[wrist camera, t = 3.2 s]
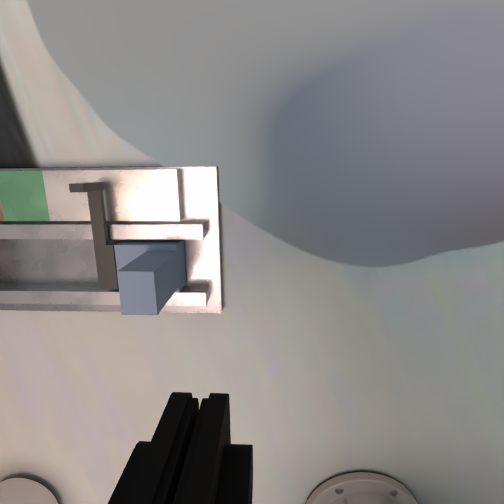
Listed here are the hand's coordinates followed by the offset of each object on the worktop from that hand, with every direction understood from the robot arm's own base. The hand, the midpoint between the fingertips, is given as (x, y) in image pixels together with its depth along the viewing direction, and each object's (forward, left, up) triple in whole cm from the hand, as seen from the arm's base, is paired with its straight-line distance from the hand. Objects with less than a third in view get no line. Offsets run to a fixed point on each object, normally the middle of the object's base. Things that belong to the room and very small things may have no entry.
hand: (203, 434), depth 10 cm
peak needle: (+11, -2, -19) cm, 23 cm away
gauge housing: (+15, -1, -21) cm, 26 cm away
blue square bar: (+8, 0, -19) cm, 21 cm away
